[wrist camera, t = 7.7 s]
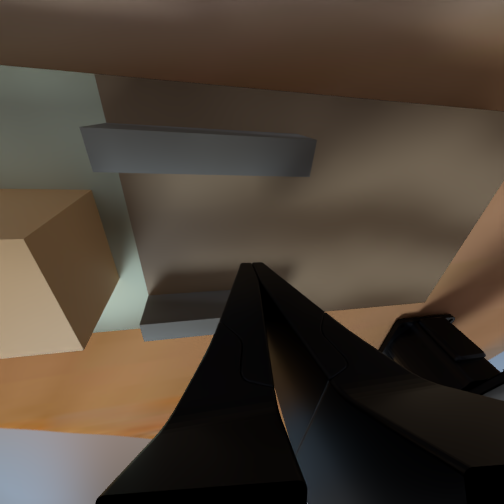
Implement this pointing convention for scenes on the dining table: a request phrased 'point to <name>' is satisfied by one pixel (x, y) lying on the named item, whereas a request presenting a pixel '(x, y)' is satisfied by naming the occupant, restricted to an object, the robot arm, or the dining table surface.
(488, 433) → the robot arm
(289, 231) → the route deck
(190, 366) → the dining table surface
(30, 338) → the block
